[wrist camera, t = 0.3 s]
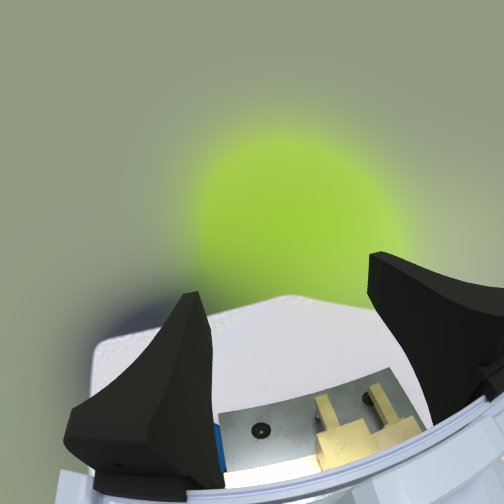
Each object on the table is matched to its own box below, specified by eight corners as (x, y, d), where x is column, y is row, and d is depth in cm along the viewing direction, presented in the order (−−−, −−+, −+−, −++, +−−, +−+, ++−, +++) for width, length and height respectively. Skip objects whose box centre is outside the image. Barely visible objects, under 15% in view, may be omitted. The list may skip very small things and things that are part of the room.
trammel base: (440, 462, 17) (454, 452, 15) (240, 534, 14) (235, 534, 13) (387, 371, 29) (394, 354, 27) (219, 416, 26) (213, 403, 25)
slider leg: (364, 473, 18) (381, 456, 15) (323, 487, 17) (332, 475, 15) (335, 405, 25) (343, 378, 22) (298, 416, 25) (300, 390, 22)
